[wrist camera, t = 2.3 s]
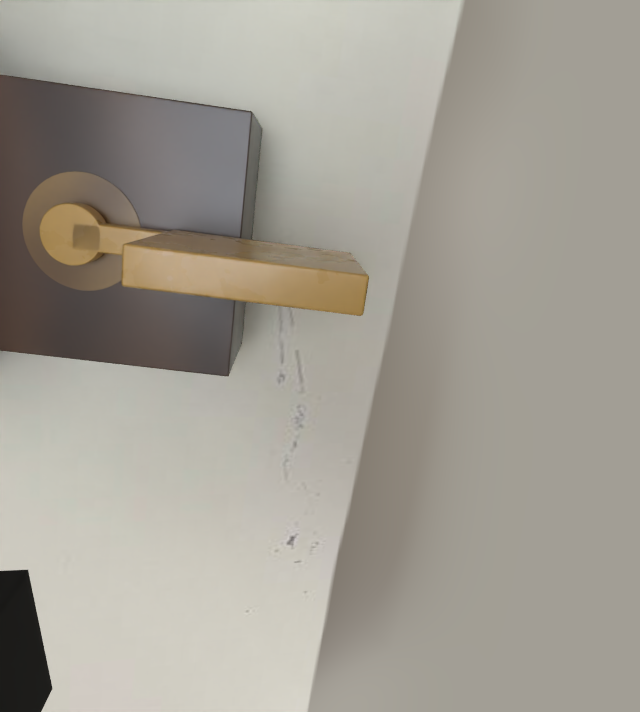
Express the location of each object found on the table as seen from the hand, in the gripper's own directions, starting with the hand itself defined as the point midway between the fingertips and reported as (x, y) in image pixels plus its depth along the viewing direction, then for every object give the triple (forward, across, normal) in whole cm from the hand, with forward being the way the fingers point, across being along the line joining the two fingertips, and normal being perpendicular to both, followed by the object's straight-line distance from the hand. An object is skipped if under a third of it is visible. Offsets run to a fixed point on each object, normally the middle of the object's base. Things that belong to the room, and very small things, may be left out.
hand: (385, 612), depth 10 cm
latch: (+17, +6, -5) cm, 18 cm away
